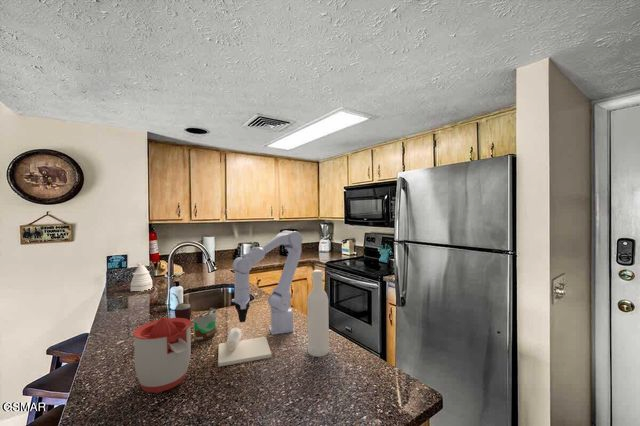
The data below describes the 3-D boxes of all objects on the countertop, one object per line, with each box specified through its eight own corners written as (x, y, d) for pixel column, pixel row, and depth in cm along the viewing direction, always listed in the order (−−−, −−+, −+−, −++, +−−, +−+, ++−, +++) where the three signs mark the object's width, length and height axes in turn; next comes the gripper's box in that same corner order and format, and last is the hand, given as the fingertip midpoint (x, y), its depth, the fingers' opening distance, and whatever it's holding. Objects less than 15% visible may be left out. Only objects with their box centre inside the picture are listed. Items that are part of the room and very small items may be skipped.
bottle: (304, 354, 102) (303, 272, 102) (312, 345, 109) (311, 268, 109) (324, 358, 99) (323, 273, 99) (332, 348, 106) (331, 269, 106)
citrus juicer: (154, 408, 75) (153, 333, 75) (123, 387, 84) (122, 320, 84) (206, 378, 88) (205, 314, 88) (174, 363, 97) (173, 305, 97)
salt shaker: (240, 341, 113) (236, 356, 102) (227, 339, 112) (221, 354, 101) (243, 328, 113) (239, 341, 102) (229, 326, 112) (224, 339, 101)
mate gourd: (191, 317, 141) (191, 287, 141) (189, 323, 133) (189, 291, 133) (175, 319, 138) (174, 288, 138) (172, 325, 131) (171, 293, 131)
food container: (207, 343, 112) (206, 318, 112) (193, 342, 113) (192, 317, 113) (223, 331, 124) (223, 308, 124) (210, 330, 125) (210, 307, 125)
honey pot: (125, 291, 190) (125, 264, 190) (140, 286, 203) (140, 261, 203) (142, 292, 188) (142, 265, 188) (156, 287, 201) (156, 261, 201)
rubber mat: (265, 339, 115) (265, 336, 115) (271, 357, 101) (271, 353, 101) (218, 346, 109) (218, 343, 109) (218, 366, 95) (218, 363, 95)
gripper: (231, 284, 118) (231, 316, 118) (232, 293, 105) (232, 330, 105) (248, 282, 121) (248, 314, 121) (251, 291, 107) (251, 327, 107)
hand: (242, 321), depth 113 cm, fingers closed
